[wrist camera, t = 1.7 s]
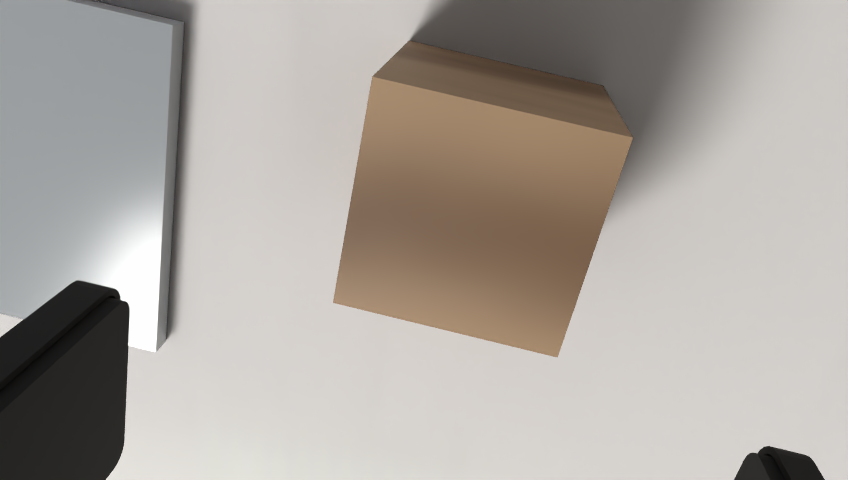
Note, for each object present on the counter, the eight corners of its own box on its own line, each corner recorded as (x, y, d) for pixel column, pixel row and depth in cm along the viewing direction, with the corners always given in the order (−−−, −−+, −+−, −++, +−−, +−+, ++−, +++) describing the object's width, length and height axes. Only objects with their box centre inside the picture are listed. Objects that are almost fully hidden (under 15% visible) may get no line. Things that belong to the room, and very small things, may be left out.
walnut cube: (409, 40, 21) (372, 76, 16) (602, 85, 21) (632, 137, 16) (375, 217, 24) (332, 302, 18) (547, 259, 24) (557, 357, 18)
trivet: (-182, -64, 22) (-206, -64, 21) (184, 21, 22) (172, 25, 21) (-132, 267, 27) (-150, 276, 26) (165, 341, 27) (155, 352, 26)
